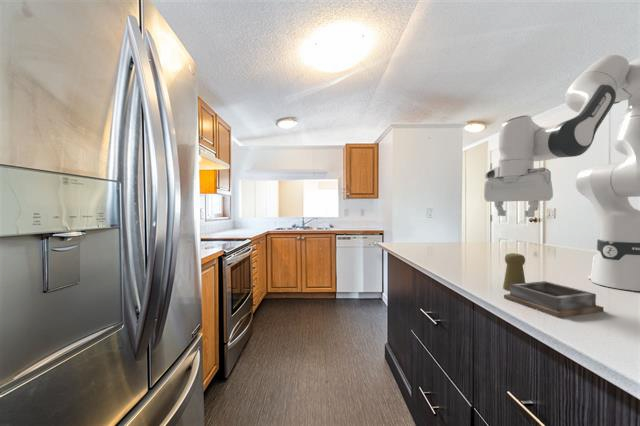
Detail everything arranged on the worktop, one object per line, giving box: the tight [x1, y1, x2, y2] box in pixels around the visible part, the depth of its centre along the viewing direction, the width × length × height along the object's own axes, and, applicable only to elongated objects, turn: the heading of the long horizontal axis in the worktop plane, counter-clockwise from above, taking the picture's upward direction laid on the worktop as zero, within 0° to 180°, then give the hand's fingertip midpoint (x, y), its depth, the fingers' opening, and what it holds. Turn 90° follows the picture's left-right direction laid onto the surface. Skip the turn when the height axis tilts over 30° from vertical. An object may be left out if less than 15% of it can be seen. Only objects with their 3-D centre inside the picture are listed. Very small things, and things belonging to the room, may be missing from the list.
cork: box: [502, 252, 526, 292], centre depth 88 cm, size 6×6×11 cm
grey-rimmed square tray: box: [503, 280, 604, 318], centre depth 75 cm, size 14×14×4 cm
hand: (514, 216), depth 88 cm, fingers open, 8 cm apart
